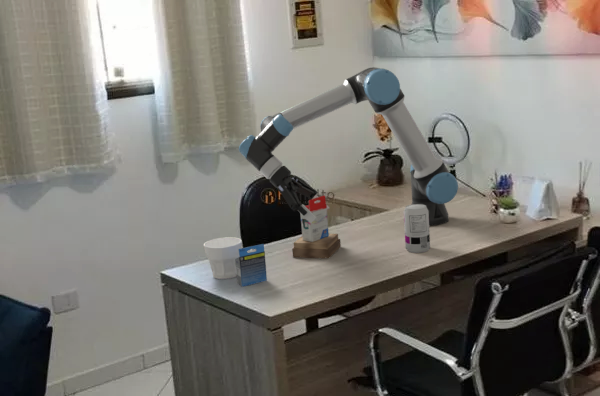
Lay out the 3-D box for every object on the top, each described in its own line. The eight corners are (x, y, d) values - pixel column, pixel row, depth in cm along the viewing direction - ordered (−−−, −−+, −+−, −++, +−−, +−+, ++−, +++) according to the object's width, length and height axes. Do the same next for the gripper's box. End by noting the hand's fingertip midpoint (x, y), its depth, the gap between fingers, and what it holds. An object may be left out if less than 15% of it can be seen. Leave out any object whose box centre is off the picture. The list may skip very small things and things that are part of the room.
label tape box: (262, 278, 256) (258, 240, 254) (267, 281, 253) (264, 243, 250) (236, 284, 252) (233, 246, 250) (242, 287, 249) (238, 249, 246)
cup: (213, 283, 254) (210, 250, 252) (202, 273, 266) (198, 241, 263) (250, 276, 259) (247, 243, 257) (237, 266, 270) (234, 234, 268)
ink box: (319, 234, 282) (315, 193, 279) (329, 236, 279) (326, 195, 276) (301, 240, 277) (298, 198, 273) (312, 242, 273) (308, 200, 270)
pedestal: (340, 247, 283) (339, 233, 281) (329, 258, 271) (327, 244, 270) (305, 246, 287) (304, 232, 286) (292, 257, 275) (291, 243, 274)
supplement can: (400, 251, 272) (398, 208, 269) (414, 245, 278) (412, 202, 275) (420, 254, 267) (418, 210, 263) (434, 248, 272) (432, 205, 269)
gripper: (282, 172, 290) (325, 213, 288) (255, 188, 267) (301, 232, 265) (295, 157, 287) (338, 199, 285) (268, 172, 264) (315, 217, 262)
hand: (320, 215), depth 275 cm, fingers open, 13 cm apart
